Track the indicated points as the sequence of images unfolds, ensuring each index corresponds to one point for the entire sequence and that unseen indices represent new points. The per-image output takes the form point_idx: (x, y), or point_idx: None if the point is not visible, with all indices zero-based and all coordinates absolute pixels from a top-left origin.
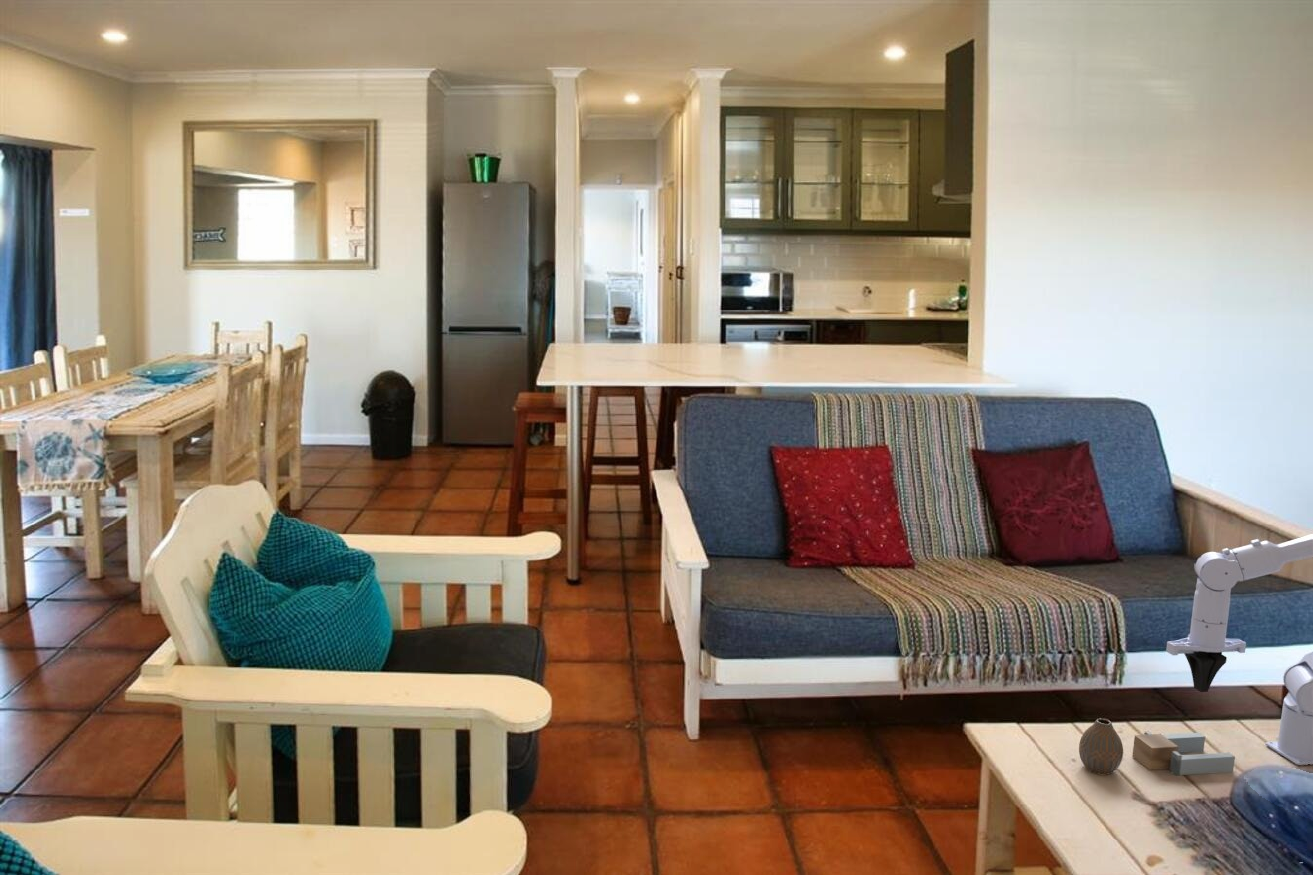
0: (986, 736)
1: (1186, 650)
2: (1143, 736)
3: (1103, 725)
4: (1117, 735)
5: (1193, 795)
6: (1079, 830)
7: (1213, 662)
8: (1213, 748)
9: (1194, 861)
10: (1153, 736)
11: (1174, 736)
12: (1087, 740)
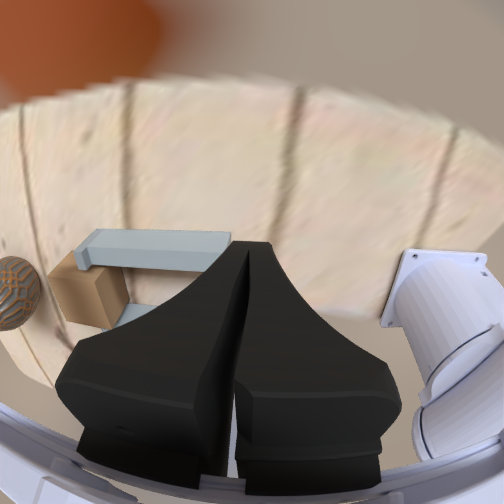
0: None
1: (47, 453)
2: (60, 283)
3: None
4: (7, 327)
5: None
6: (18, 352)
7: (226, 469)
8: (269, 241)
9: None
10: (77, 288)
11: (143, 260)
12: None
